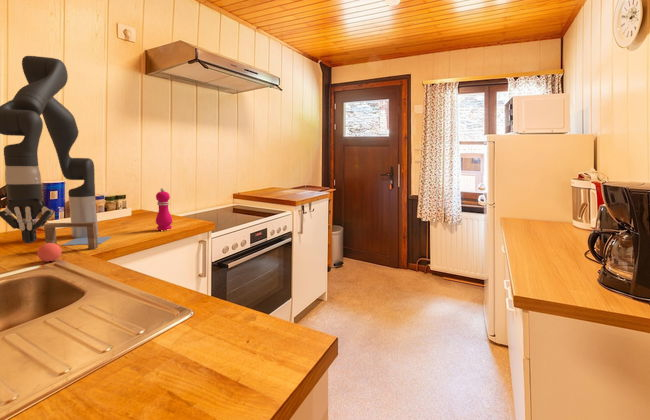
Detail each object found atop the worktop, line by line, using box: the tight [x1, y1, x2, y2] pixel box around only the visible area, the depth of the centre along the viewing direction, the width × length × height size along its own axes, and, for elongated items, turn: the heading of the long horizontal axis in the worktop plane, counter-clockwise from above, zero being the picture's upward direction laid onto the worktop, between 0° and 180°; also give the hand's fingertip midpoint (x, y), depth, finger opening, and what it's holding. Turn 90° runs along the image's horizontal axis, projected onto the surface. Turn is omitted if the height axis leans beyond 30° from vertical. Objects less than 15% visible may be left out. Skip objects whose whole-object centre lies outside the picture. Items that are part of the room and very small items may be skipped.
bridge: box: [43, 222, 99, 251], centre depth 124 cm, size 3×15×10 cm, turn 105°
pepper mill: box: [155, 187, 173, 231], centre depth 161 cm, size 7×7×20 cm
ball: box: [37, 242, 63, 263], centre depth 109 cm, size 6×6×6 cm
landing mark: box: [62, 236, 112, 246], centre depth 138 cm, size 13×13×1 cm
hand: (29, 242), depth 98 cm, fingers closed
